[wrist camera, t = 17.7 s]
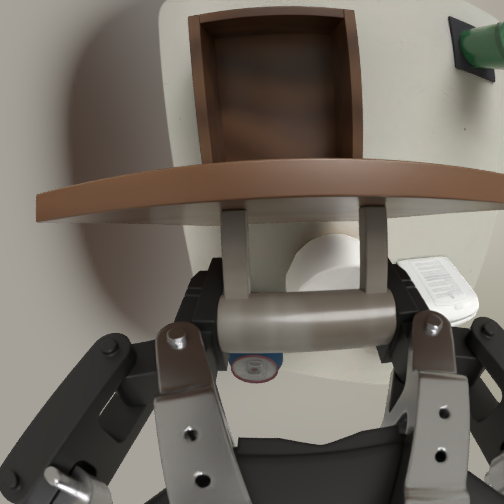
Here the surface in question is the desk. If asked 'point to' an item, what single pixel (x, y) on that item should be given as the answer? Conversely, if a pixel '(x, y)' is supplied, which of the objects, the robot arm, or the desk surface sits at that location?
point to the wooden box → (277, 83)
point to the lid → (286, 211)
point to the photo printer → (442, 288)
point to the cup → (326, 265)
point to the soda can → (255, 366)
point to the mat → (460, 60)
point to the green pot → (484, 46)
